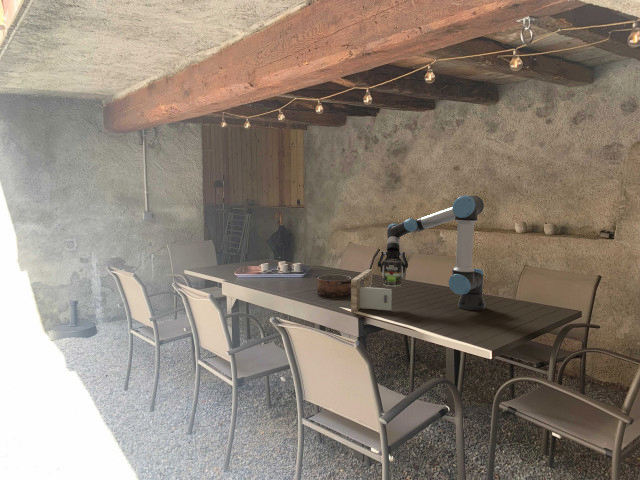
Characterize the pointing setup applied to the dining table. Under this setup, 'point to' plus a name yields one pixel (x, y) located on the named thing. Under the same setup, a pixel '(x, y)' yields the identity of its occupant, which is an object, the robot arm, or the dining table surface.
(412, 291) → the dining table surface
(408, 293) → the dining table surface
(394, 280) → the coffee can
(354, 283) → the door frame
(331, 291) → the cooking pot
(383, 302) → the door
